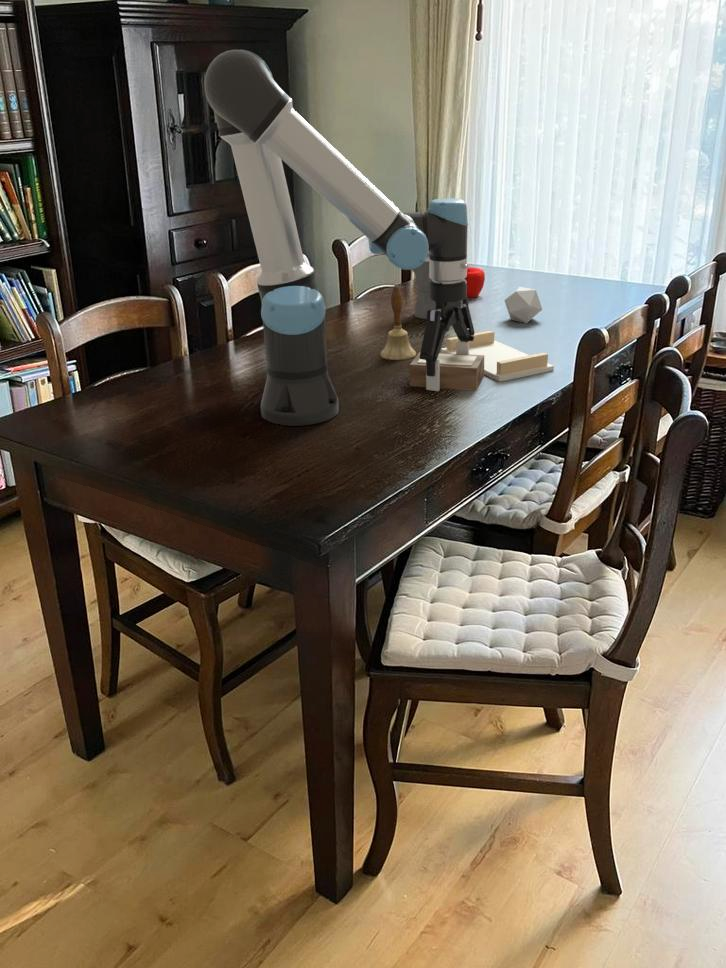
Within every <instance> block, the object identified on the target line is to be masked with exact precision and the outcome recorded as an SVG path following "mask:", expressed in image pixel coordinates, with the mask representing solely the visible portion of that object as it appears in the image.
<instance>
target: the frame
mask: <svg viewBox="0 0 726 968" xmlns="http://www.w3.org/2000/svg"><path fill="white" fill-rule="evenodd" d="M420 352H421V351H419V352H418V353H417V354H416V356H415V357H414V358H413V360H412V361H411V363H409V387H416V386H418V388H420V387H421V388H426V360H423V359H420ZM437 360H440V389H446V388H447V389H448V390H449V389H450V390H461V391H464V390H465V391H477V390H478V388H479V386H480V385H481V383H482V380H483V379H484V378H485V374H484V355H469V354H450V353H441V352H439V355H438V358H437Z"/></svg>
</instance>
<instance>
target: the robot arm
mask: <svg viewBox="0 0 726 968" xmlns="http://www.w3.org/2000/svg"><path fill="white" fill-rule="evenodd" d="M206 69H207V70H206V72H205V75H204V82H203V83H204V84H203V85H204V93H205V96H206V99H207V103H208V104H209V106H210V107H211V109H212V110H213V113H214V118H215V121H216V124H217V125H216V126H217V129H218V133H219V137H220V138H221V140H223V141H225V142H226V143H228V144H229V145H230V147H231V151H232V152H231V153H232V155H233V159H234V164H235V168H236V172H237V176H238V180H239V184H240V188H241V191H242V196H243V200H244V204H245V208H246V212H247V217H248V220H249V225H250V229H251V233H252V236H253V241H254V245H255V248H256V253H257V259H258V260H259V266H260V269H261V273H260V275H258V277H257V279H256V284H257V288H258V289H257V290H258V293H259V296H260V298H259V299H260V301H261V302H260V303H261V308H260V315H261V319H262V327H263V342H264V350H265V351H264V352H265V364H266V376H267V377H266V381H265V385H264V390H263V394H262V397H261V401H260V414H261V417H262V418H263V420H265V419H266V420H267V421H266V420H265V421H266V422H268V421H269V423H271V422H272V423H271V424H274V423H275V425H278V424H280V426H286V425H287V427H289V426H290V427H298V426H299V427H300V426H309V425H310V426H311V425H316V424H320V423H324V422H326V421H327V422H328V421H329V420H331V419H333V418H334V417H336V416H337V415H338V413H339V410H340V409H339V407H340V405H339V397H338V395H337V393H336V390H335V387H334V385H333V382H332V381H331V380H332V379H331V378H330V377H331V376H330V375H329V371H328V370H329V369H328V356H327V353H328V352H327V351H328V350H327V333H326V304H325V301H324V297H323V295H322V294H321V293H320V292H319V287H318V282H317V277H316V274H315V270H314V267H312V266H311V265H309V264H308V263H306V262H305V261H304V260H305V259H304V254H303V251H302V250H303V249H302V246H301V241H300V238H299V237H300V236H299V233H298V229H297V228H298V227H297V224H296V219H295V215H294V210H293V206H292V202H291V196H290V192H289V188H288V183H287V179H286V175H285V171H284V165H283V162H284V163H285V164H286V165H287V166H288V167H289V168H290V169H291V170H293V171H294V172H295V174H296V175H298V176H299V177H300V178H301V179H302V180H304V182H305V183H307V184H308V185H309V186H310V187H311V188H313V190H314V191H316V193H318V194H319V195H320V196H321V197H323V199H324V200H326V201H327V203H329V204H330V205H331V206H332V207H333V209H335V210H336V211H338V212H339V214H341V215H342V216H343V217H344V218H345V219H346V220H347V221H348V222H349V223H350V224H352V225H353V226H354V227H355V228H356V229H357V230H358V231H359V232H360V233H361V234H363V235H364V236H365V237H366V238H367V240H368V248H369V251H370V253H372V254H374V255H376V254H377V255H378V254H379V255H385V256H386V257H387V259H388V260H389V262H390V263H391V264H392V265H394V266H395V267H397V268H398V269H401V270H404V271H407V270H409V271H410V270H412V269H415V268H417V267H419V266H420V265H421V264H423V262H424V261H425V259H426V258H427V255H428V253H429V278H430V279H432V280H431V281H430V283H429V288H430V299H431V300H433V301H435V303H436V307H435V310H428V311H427V319H426V323H425V324H426V325H425V329H424V332H423V339H422V342H421V343H422V344H421V348H420V351H419V352H420V359H423V360H426V387H425V389H426V390H427V391H434V392H439V391H440V389H441V388H440V360H437V358H438V355H439V353H441V348H442V346H443V342H444V339H445V336H446V333H447V332H448V331H449V330H450V327H452V329H453V331H454V333H455V336H456V337H458V339H459V340H460V341H456V354H469V341H473V340H474V333H476V332H475V328H474V323H473V320H472V319H473V318H472V315H471V311H470V307H469V298H468V297H467V281H466V280H465V278H466V277H467V268H468V267H469V264H468V263H467V262H468V261H467V260H468V226H469V223H468V208H467V203H466V202H465V201H464V200H463V199H461V198H456V197H454V198H452V197H451V198H450V197H449V198H447V197H446V198H438V199H437V198H436V199H433V200H430V202H429V203H428V207H427V210H424V211H417V212H416V211H415V212H414V211H413V212H402V211H401V210H400V209H399V208H398V206H396V205H395V204H394V202H393V201H391V200H390V199H388V197H387V196H386V195H384V194H383V193H382V192H381V191H380V190H379V189H378V188H377V187H376V186H375V185H374V184H373V183H371V181H370V180H369V179H368V178H367V177H366V176H364V174H362V173H361V171H359V170H358V169H357V168H356V167H355V166H354V165H353V164H352V163H351V162H350V161H349V160H348V159H346V158H345V157H344V156H343V154H341V153H340V152H339V151H338V150H337V149H336V148H335V147H334V146H333V145H332V144H331V143H329V141H328V140H326V138H324V137H323V136H322V134H320V133H319V132H318V131H317V130H316V129H315V128H314V127H313V126H312V125H311V124H309V123H308V121H306V120H305V119H304V117H302V116H301V115H300V114H299V113H298V112H297V110H296V111H295V109H294V107H293V105H294V104H293V99H292V98H291V97H290V96H289V95H288V94H287V93H286V92H285V91H284V90H283V89H282V88H281V87H280V86H279V84H278V83H277V81H275V80H274V77H273V74H272V71H271V70H270V68H269V66H268V64H267V63H266V62H265V60H263V59H262V57H261V56H259V55H257V54H256V53H254V52H252V51H249V50H246V49H231V50H226V51H223V52H221V53H220V54H218V55H216V57H214V59H213V60H212V61H211V62H210V64H209V66H208V67H207V68H206Z"/></svg>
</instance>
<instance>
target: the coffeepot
mask: <svg viewBox="0 0 726 968" xmlns="http://www.w3.org/2000/svg"><path fill="white" fill-rule="evenodd" d="M411 270H412V271H413V273H414V275H415V278H416V284H417V286H418V287H417V288H418V291H417V297H416V302H415V303H416V304H415V309H414V317H415V318H418V319H421V320H427V311H428V310H435V307H436V303H435V301H433V300H431V299H430V288H429V283H430V281H431V280H432V279H430V278H429V252H428V255H427V258H426V259H425V261H424V262H423V264H421V265H420V266H419V267H417V268H415V269H411Z"/></svg>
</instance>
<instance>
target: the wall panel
mask: <svg viewBox="0 0 726 968" xmlns="http://www.w3.org/2000/svg"><path fill="white" fill-rule="evenodd" d="M456 341H460V340H459V339H458V337H457V336H454V337H453V336H452V337H447V338H446V347H441V349H440V353H450V354H456ZM469 355H484V376H485V375H486V376H487V377H489V378H491V379H493V380H494V381H497V382H504V381H508V380H513V379H518V378H522V377H523V378H524V377H528V376H533V375H537V374H543V373H548V372H552V371H553V372H554V371H555V369H554V367H555V365H552V364H551V363H548V360H549V358H548V357H549V354H548V353H546V352H539V353H534V354H527V353H525V352H522V351H521V350H518V349H515V348H513V347H511V346H509V345H506V344H504V343H501V342H499V341H497V340H496V339H495V331H493V330H487V331H480V332H475V333H474V340H473V341H469Z"/></svg>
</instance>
